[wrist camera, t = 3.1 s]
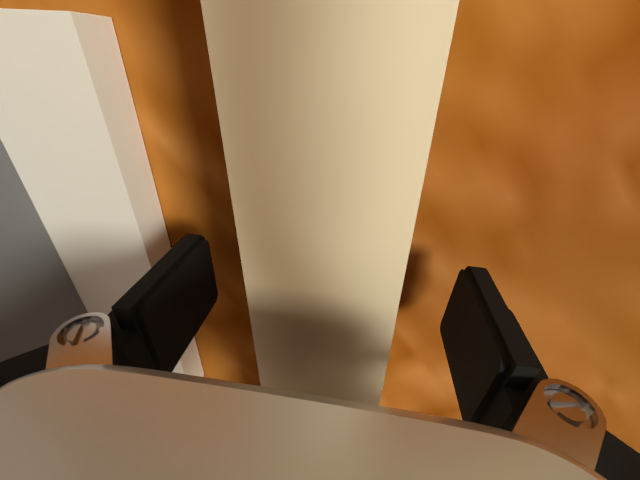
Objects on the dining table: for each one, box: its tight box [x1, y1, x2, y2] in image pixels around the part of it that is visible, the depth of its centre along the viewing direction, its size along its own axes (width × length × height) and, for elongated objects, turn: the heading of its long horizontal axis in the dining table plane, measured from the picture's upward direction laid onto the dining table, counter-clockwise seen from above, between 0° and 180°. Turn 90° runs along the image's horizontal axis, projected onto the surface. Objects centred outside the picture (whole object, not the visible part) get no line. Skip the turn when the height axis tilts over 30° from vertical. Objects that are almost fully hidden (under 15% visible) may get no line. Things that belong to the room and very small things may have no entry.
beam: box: [200, 0, 459, 406], centre depth 11 cm, size 4×22×5 cm, turn 179°
